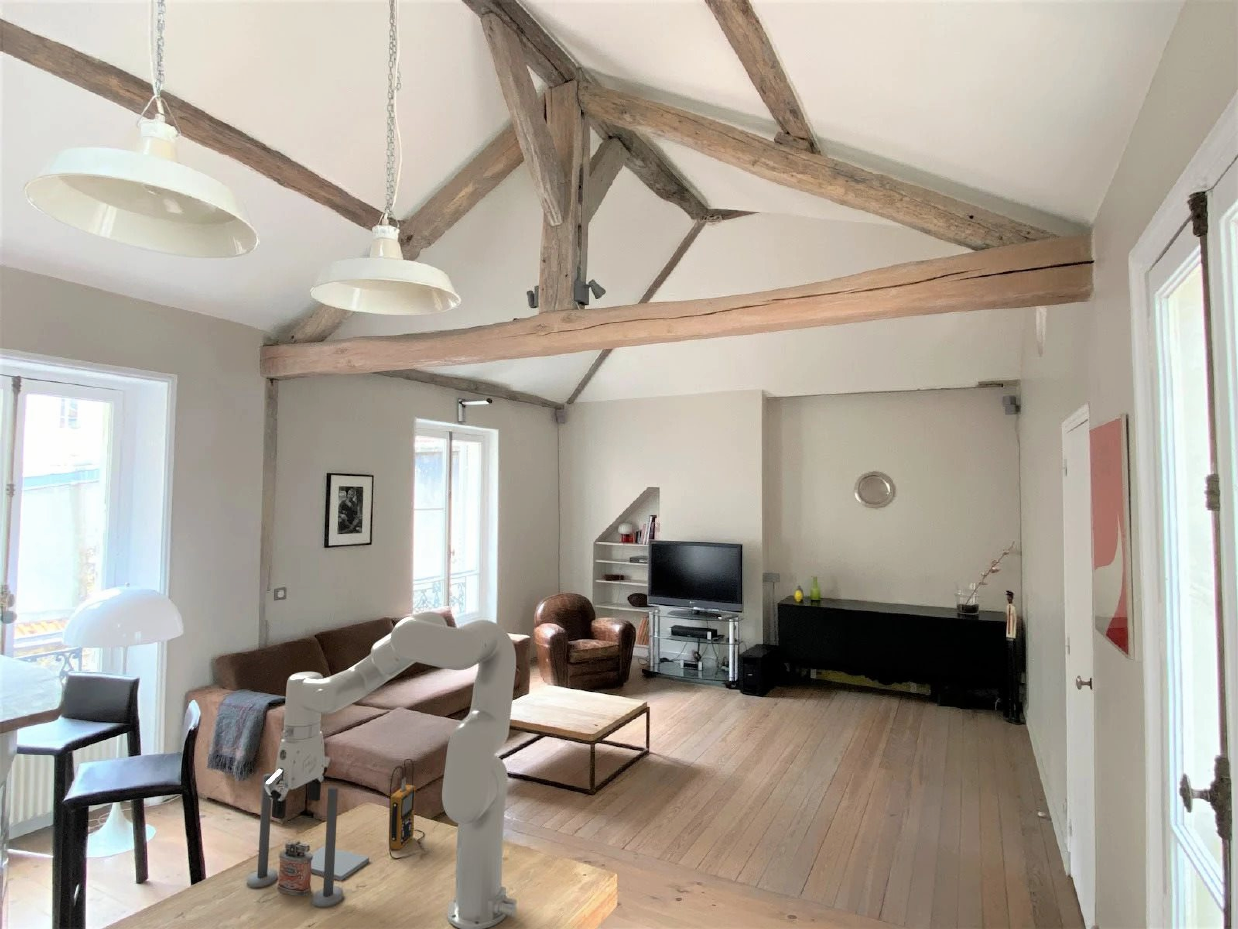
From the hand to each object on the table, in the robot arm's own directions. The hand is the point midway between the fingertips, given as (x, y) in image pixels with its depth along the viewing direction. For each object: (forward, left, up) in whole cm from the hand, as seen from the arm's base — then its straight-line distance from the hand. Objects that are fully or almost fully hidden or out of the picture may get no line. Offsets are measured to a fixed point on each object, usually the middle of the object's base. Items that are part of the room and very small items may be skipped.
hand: (296, 808), depth 146 cm
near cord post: (-10, 0, -17) cm, 20 cm away
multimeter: (-13, -26, -18) cm, 34 cm away
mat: (-1, -11, -17) cm, 20 cm away
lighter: (-1, 0, -17) cm, 17 cm away
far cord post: (+9, 0, -17) cm, 19 cm away
